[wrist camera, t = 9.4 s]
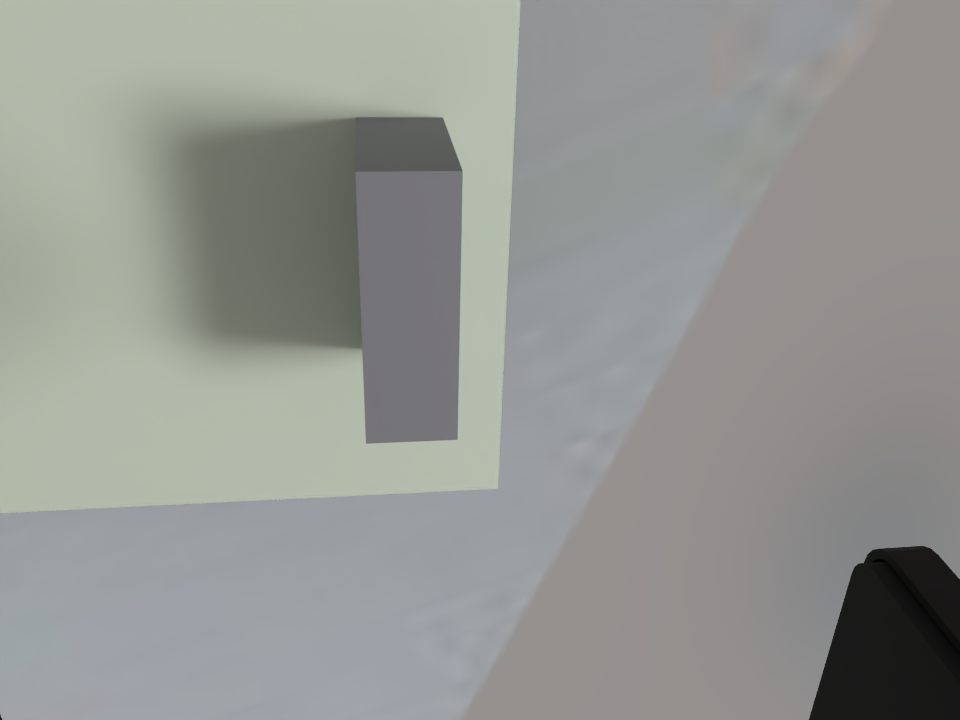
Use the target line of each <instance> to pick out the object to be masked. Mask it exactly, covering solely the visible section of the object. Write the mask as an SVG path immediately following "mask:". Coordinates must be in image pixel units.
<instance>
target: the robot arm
mask: <svg viewBox="0 0 960 720" xmlns="http://www.w3.org/2000/svg"><path fill="white" fill-rule="evenodd" d="M0 720H2V718H1V715H0ZM809 720H960V579H959V578H958V577H957V576H956V575H955V574H954V573H953V572H952V570H951V569H950V568H949V567H948V566H947V565H946V563H945V562H944V561H943V560H942V559H941V558H940V557H939V555H938V554H936V553H935V552H934V551H933V550H932V549H930V548H927V547H925V546H915V547H901V548H885V549H875V550H872V551H871V552H870V553H869V554H868V555H867V557H866V559H865V562H864V563H861V564H858V565H857V566H855V568H854V570H853V572H852V575H851V578H850V582H849V585H848V588H847V592H846V595H845V599H844V602H843V606H842V609H841V612H840V616H839V619H838V623H837V626H836V629H835V633H834V636H833V640H832V644H831V646H830V650H829V654H828V657H827V660H826V664H825V667H824V670H823V674H822V677H821V681H820V684H819V688H818V691H817V694H816V698H815V701H814V704H813V708H812V711H811V715H810V718H809Z"/></svg>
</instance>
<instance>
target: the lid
mask: <svg viewBox="0 0 960 720" xmlns="http://www.w3.org/2000/svg"><path fill="white" fill-rule="evenodd" d="M519 20H520V0H0V513H13V512H34V511H54V510H74V509H95V508H115V507H135V506H155V505H176V504H196V503H216V502H237V501H257V500H277V499H297V498H318V497H338V496H358V495H379V494H399V493H419V492H439V491H460V490H480V489H498V475H499V453H500V432H501V410H502V388H503V367H504V345H505V323H506V302H507V280H508V258H509V237H510V215H511V193H512V172H513V150H514V129H515V107H516V85H517V64H518V42H519Z"/></svg>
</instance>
